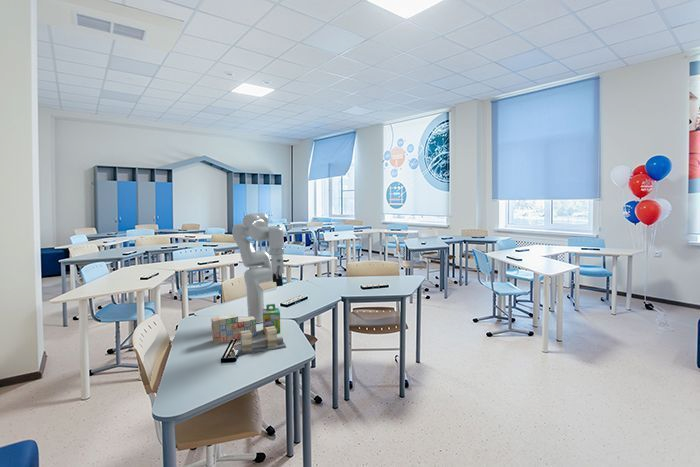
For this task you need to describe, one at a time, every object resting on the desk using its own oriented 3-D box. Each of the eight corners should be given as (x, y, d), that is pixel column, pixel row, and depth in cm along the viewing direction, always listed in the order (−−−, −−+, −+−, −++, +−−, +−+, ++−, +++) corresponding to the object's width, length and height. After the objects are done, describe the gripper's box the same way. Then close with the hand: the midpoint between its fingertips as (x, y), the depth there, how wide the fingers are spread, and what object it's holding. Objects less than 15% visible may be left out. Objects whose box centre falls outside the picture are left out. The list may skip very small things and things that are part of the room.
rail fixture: (232, 349, 182) (231, 331, 181) (281, 340, 191) (281, 324, 190) (234, 356, 174) (233, 337, 173) (285, 347, 183) (285, 329, 182)
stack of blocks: (253, 332, 204) (252, 310, 203) (256, 336, 199) (255, 313, 198) (212, 340, 194) (211, 317, 193) (214, 344, 189) (212, 320, 188)
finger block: (265, 343, 186) (264, 327, 185) (275, 341, 188) (274, 326, 187) (267, 347, 181) (266, 331, 180) (277, 345, 183) (276, 329, 182)
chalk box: (263, 335, 200) (262, 307, 198) (263, 329, 209) (261, 303, 207) (281, 333, 202) (279, 306, 201) (279, 327, 211) (278, 301, 210)
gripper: (287, 253, 188) (288, 286, 190) (280, 248, 204) (281, 279, 206) (272, 254, 185) (273, 288, 187) (266, 249, 201) (267, 281, 203)
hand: (277, 283), depth 196 cm, fingers open, 9 cm apart
